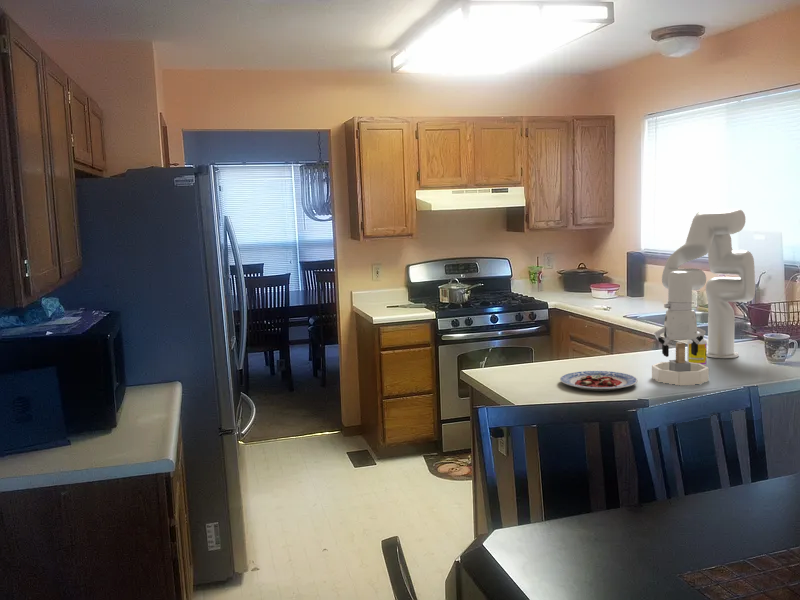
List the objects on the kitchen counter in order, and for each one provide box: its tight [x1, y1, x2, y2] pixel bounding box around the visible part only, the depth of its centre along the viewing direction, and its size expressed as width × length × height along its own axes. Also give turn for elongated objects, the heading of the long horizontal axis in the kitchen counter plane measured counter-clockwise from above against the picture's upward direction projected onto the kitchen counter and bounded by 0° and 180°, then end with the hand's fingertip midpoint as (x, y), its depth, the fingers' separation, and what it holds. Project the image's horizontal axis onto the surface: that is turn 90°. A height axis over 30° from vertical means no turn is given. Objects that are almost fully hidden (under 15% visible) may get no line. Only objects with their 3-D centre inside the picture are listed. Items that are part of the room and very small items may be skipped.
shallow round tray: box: [651, 359, 710, 386], centre depth 234 cm, size 17×17×6 cm
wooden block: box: [675, 341, 686, 363], centre depth 234 cm, size 3×2×12 cm, turn 0°
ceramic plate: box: [559, 370, 639, 392], centre depth 233 cm, size 26×26×3 cm
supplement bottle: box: [686, 331, 708, 367], centre depth 254 cm, size 7×7×13 cm
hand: (680, 355), depth 234 cm, fingers open, 9 cm apart
